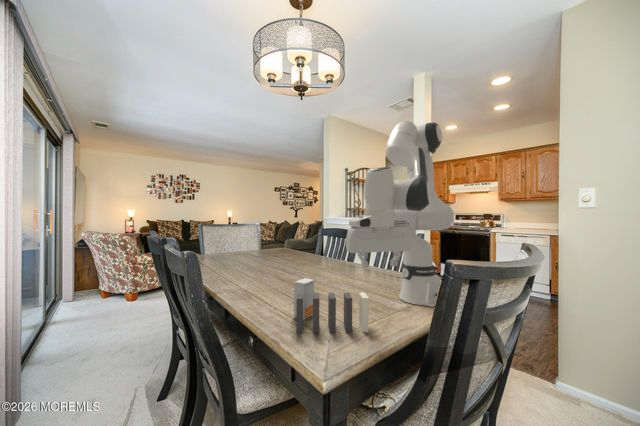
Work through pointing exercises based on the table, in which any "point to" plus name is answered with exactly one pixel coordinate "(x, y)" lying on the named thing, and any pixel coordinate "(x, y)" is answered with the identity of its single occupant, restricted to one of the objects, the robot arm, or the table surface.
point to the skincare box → (304, 296)
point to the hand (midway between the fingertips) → (379, 266)
